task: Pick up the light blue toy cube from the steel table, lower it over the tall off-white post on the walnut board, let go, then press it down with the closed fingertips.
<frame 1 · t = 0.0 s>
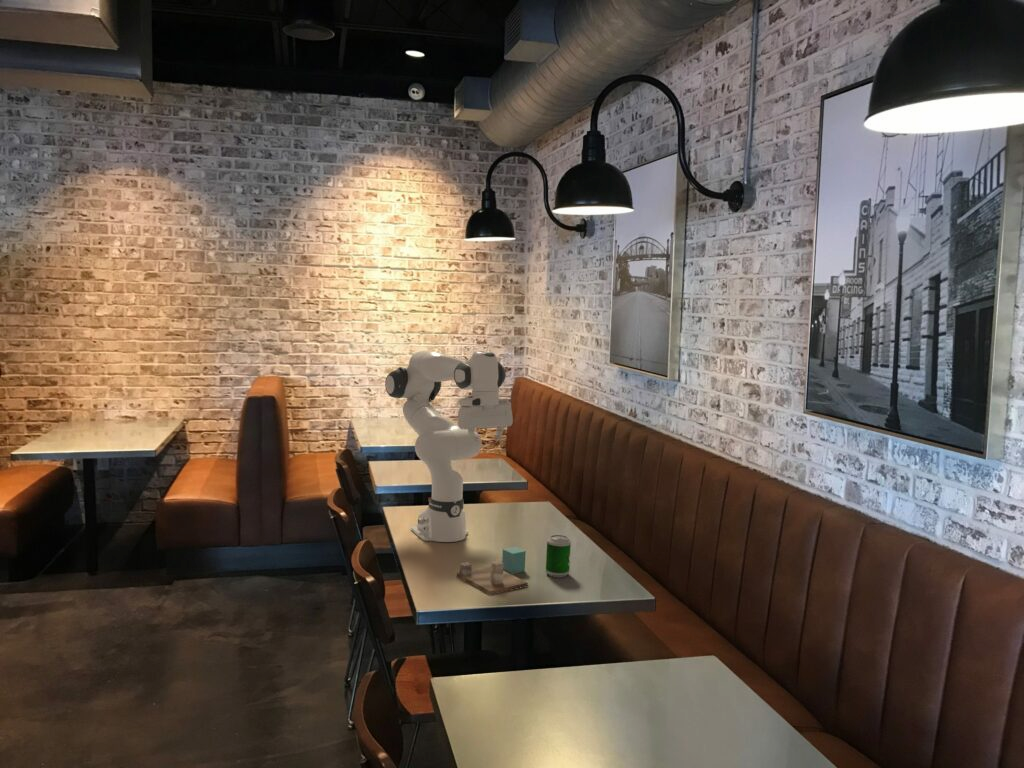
hand: (486, 441, 269), 39 cm above the table, tool pointing down, fingers open, 8 cm apart
soda can: (557, 574, 256), on the table
light blue toy cube: (513, 570, 258), on the table
stand: (491, 581, 247), on the table
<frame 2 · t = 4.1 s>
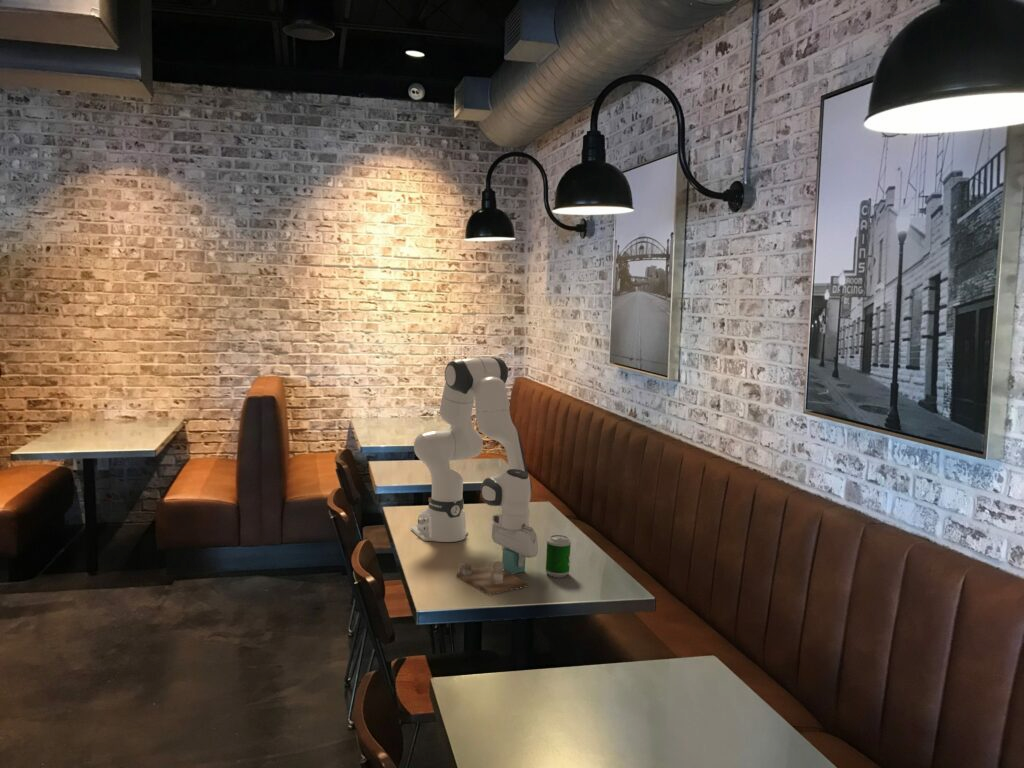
hand: (513, 563, 258), 2 cm above the table, tool pointing down, fingers closed on light blue toy cube, 5 cm apart
light blue toy cube: (513, 570, 258), on the table, touching gripper
everything else where it was.
when the fingers open (5 cm above the table, at t = 9.6 s): light blue toy cube drops 1 cm, resting on stand.
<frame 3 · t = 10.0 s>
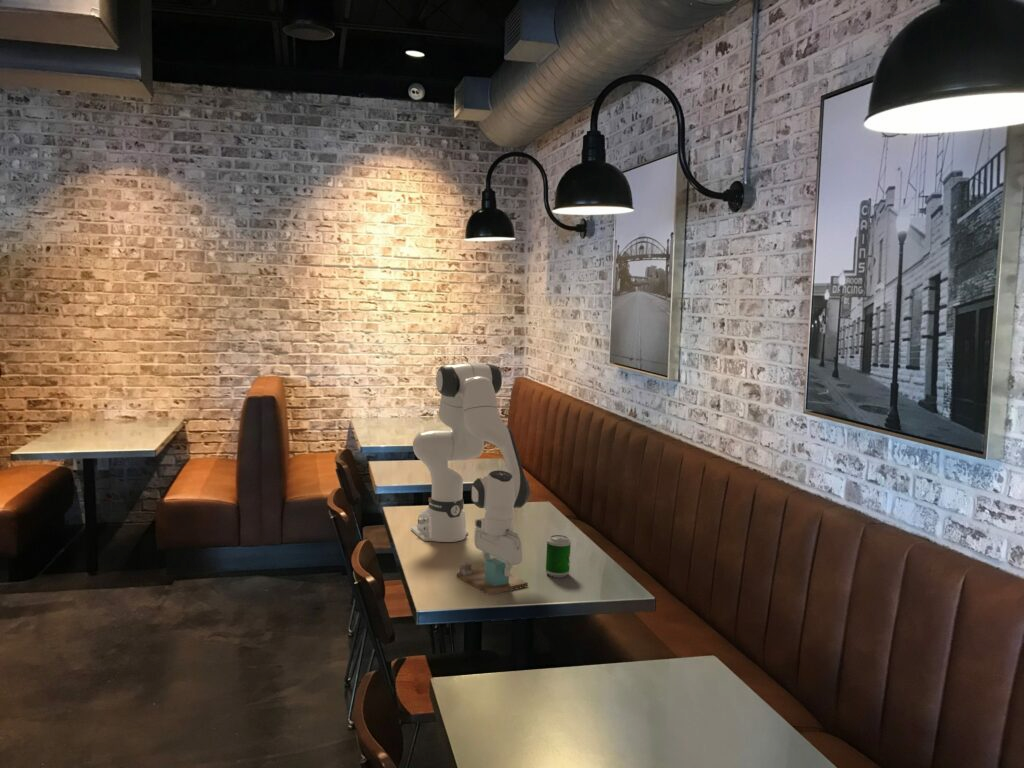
hand: (497, 570, 243), 5 cm above the table, tool pointing down, fingers open, 8 cm apart
light blue toy cube: (496, 582, 243), point 1 cm above the table, touching stand
everything else where it was.
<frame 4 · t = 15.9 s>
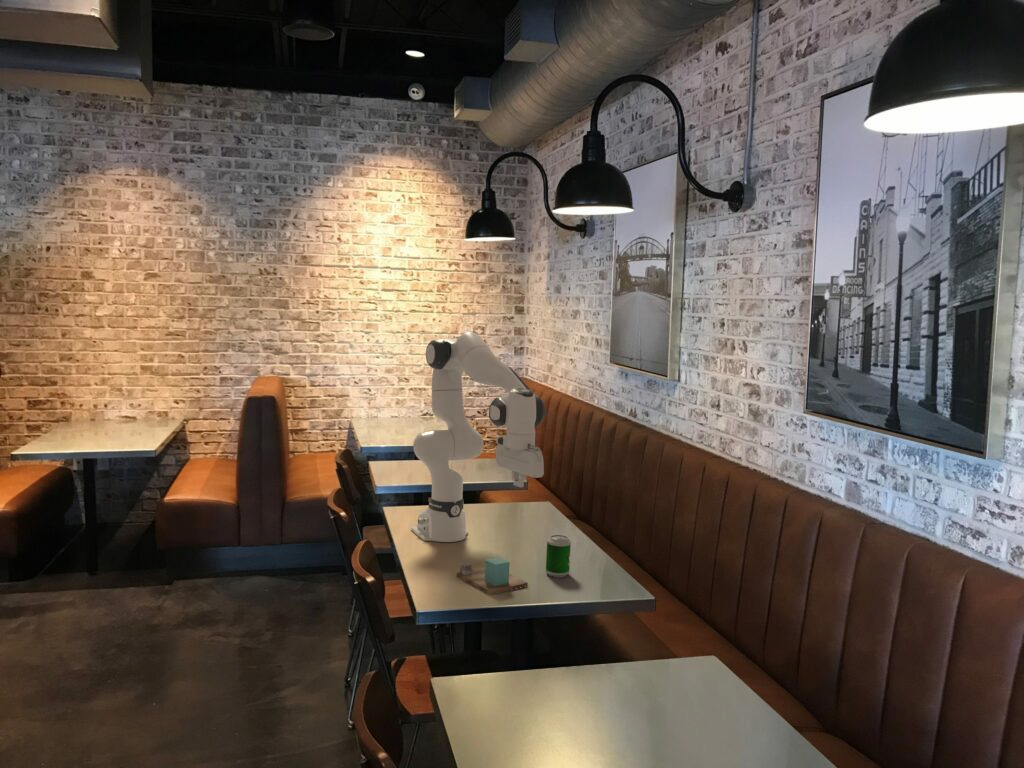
hand: (518, 486, 248), 29 cm above the table, tool pointing down, fingers closed
nothing on the table moved.
at the end: light blue toy cube 0.1 cm from the target spot on the stand, point 1.2 cm above the stand's base; light blue toy cube point 1.2 cm above the table; the gripper is holding nothing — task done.
